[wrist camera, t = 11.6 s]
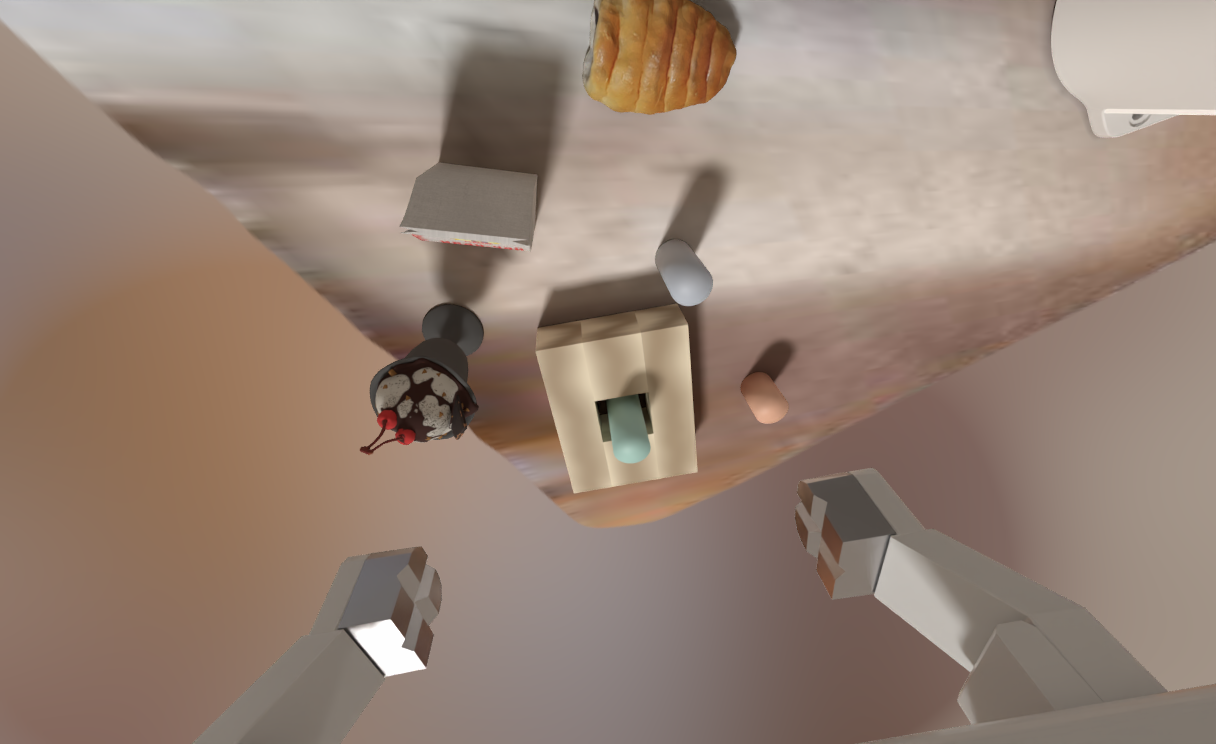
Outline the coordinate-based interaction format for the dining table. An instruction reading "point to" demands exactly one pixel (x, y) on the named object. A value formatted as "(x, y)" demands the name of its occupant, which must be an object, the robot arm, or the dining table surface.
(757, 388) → the short dowel
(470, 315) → the sundae
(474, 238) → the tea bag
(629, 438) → the long dowel
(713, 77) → the pastry
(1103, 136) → the robot arm
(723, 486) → the dining table surface
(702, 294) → the medium dowel
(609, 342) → the hole block
